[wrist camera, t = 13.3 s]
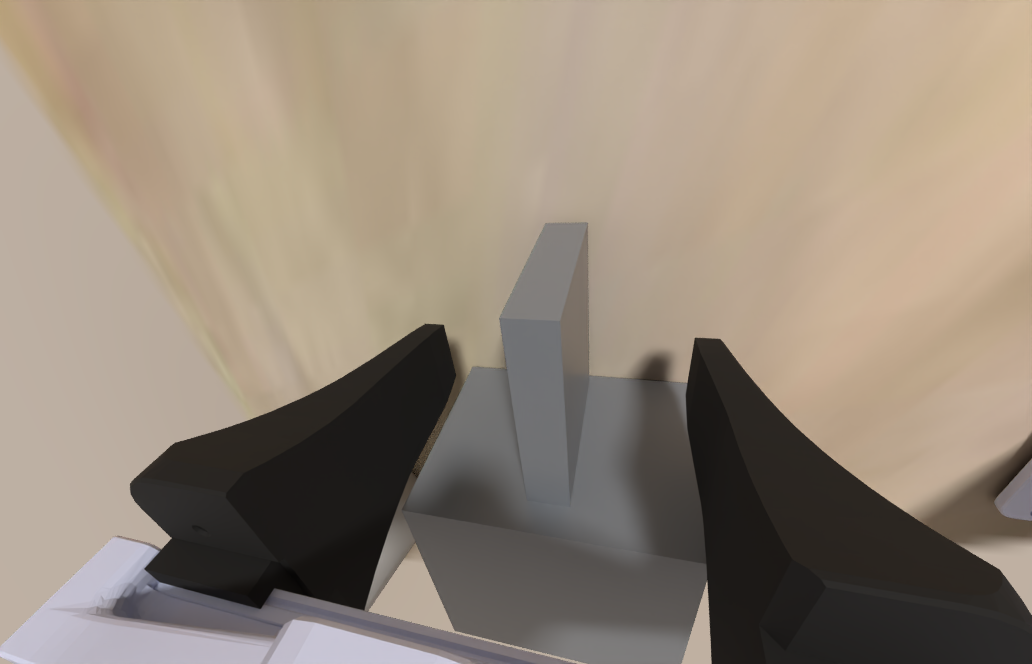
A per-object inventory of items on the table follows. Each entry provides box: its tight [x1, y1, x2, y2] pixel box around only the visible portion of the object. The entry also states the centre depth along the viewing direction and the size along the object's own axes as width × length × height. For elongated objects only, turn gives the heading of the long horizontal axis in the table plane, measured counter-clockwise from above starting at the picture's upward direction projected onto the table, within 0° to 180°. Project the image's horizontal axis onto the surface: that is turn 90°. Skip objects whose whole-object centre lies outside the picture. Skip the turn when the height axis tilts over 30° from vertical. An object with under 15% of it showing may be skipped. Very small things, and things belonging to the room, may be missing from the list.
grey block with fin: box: [401, 223, 707, 664], centre depth 14 cm, size 14×8×6 cm, turn 5°
